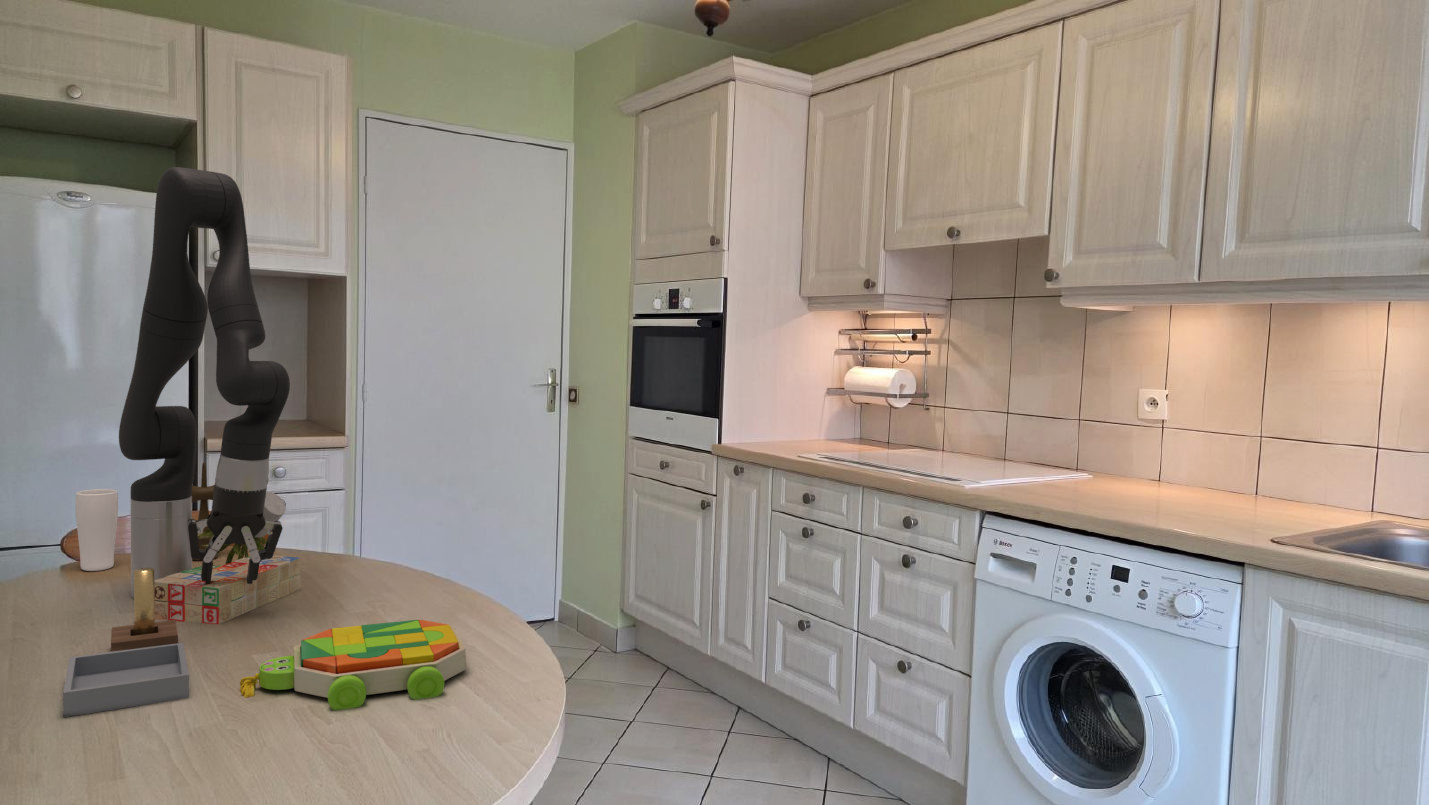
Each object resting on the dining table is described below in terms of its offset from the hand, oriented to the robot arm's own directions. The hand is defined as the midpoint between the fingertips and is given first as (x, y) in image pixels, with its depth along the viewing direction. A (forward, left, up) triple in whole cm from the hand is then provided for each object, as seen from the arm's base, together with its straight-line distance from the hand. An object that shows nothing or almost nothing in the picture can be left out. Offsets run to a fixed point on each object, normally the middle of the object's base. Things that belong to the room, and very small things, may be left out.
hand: (228, 582), depth 148 cm
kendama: (-44, -1, -6) cm, 45 cm away
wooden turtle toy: (+38, +12, -7) cm, 40 cm away
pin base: (+13, -12, -6) cm, 18 cm away
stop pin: (+13, -12, -6) cm, 18 cm away
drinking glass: (-44, -19, -6) cm, 49 cm away
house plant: (-20, +10, +8) cm, 24 cm away
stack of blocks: (-4, +6, -3) cm, 7 cm away
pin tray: (+28, -14, -6) cm, 31 cm away
